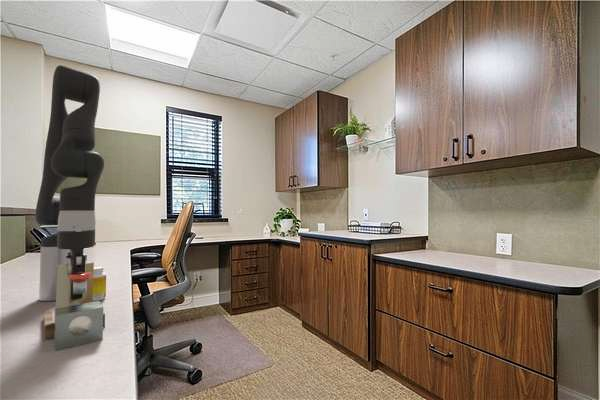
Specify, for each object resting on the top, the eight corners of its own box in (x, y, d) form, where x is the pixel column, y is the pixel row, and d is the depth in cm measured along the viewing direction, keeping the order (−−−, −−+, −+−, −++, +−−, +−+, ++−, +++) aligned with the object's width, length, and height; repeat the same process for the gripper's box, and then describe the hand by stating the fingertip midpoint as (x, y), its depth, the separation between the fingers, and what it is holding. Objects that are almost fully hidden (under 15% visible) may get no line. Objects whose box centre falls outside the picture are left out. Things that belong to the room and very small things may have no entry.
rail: (44, 319, 76) (44, 307, 76) (94, 309, 83) (95, 299, 84) (44, 340, 63) (45, 326, 63) (104, 326, 70) (105, 314, 71)
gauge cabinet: (53, 341, 63) (55, 308, 63) (98, 331, 68) (99, 300, 68) (55, 351, 58) (56, 316, 58) (102, 339, 63) (103, 307, 64)
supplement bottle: (108, 299, 94) (109, 267, 94) (87, 303, 89) (88, 270, 90) (102, 296, 97) (102, 265, 98) (82, 300, 93) (83, 268, 93)
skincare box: (69, 318, 68) (70, 266, 68) (54, 317, 69) (55, 265, 69) (93, 309, 74) (94, 261, 75) (79, 308, 75) (81, 261, 76)
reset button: (67, 292, 64) (68, 274, 64) (89, 289, 66) (90, 271, 67) (68, 296, 61) (69, 277, 61) (92, 292, 63) (92, 274, 64)
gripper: (56, 228, 75) (54, 293, 74) (59, 230, 65) (56, 305, 64) (91, 227, 80) (90, 287, 79) (99, 229, 70) (97, 298, 69)
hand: (75, 295), depth 72 cm, fingers closed on skincare box, 7 cm apart
